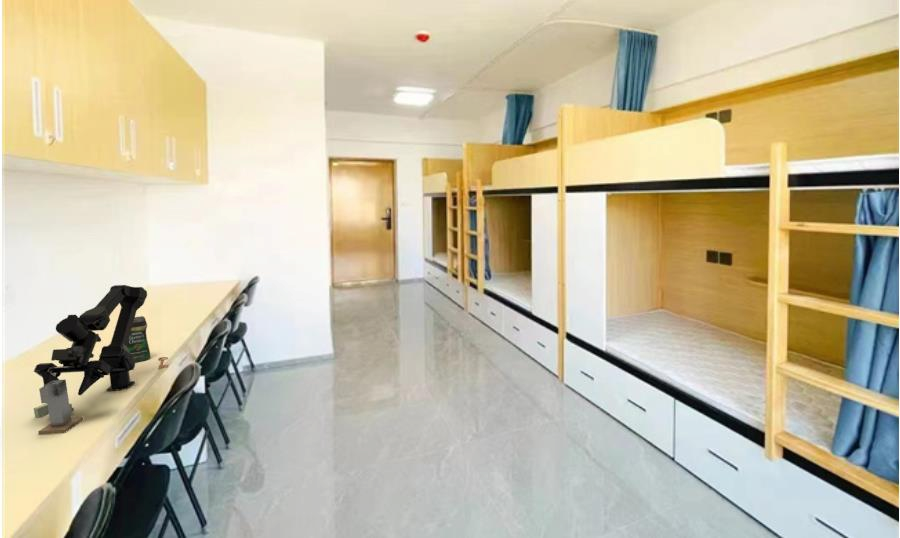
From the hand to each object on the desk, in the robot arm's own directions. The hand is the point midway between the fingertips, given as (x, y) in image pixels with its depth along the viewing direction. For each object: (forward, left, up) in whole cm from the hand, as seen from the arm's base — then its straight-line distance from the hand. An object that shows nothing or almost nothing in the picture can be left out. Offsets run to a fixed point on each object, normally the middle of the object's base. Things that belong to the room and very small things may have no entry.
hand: (62, 396), depth 136 cm
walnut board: (+2, 0, -9) cm, 9 cm away
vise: (-7, -8, -9) cm, 14 cm away
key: (-52, +7, -9) cm, 53 cm away
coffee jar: (-59, -6, -9) cm, 60 cm away
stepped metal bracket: (+3, 0, -8) cm, 9 cm away
